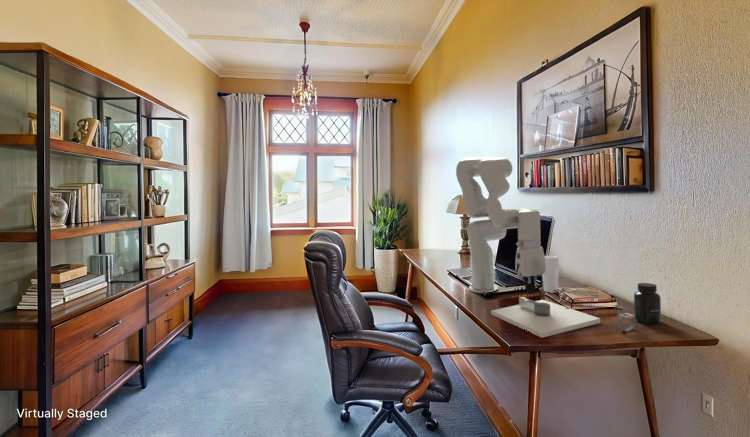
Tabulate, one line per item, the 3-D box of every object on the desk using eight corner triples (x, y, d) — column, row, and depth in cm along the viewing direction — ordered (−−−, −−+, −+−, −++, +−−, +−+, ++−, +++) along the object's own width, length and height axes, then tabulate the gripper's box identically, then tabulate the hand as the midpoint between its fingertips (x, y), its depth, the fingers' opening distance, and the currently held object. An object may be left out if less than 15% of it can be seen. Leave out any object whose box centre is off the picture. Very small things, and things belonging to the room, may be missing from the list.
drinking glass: (562, 293, 149) (561, 257, 148) (546, 294, 150) (545, 259, 149) (555, 289, 156) (553, 255, 155) (539, 290, 156) (537, 256, 155)
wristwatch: (630, 327, 111) (630, 311, 111) (639, 330, 108) (638, 314, 108) (614, 330, 110) (614, 314, 109) (623, 334, 107) (622, 317, 107)
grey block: (553, 314, 122) (553, 304, 122) (542, 316, 120) (541, 307, 120) (526, 304, 134) (526, 296, 134) (515, 306, 132) (515, 298, 132)
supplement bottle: (658, 326, 110) (657, 288, 109) (631, 322, 115) (630, 285, 114) (663, 320, 114) (662, 283, 114) (637, 316, 120) (636, 280, 119)
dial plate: (491, 314, 131) (491, 310, 131) (543, 303, 139) (542, 299, 139) (541, 337, 108) (541, 332, 108) (600, 322, 116) (600, 317, 116)
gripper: (519, 247, 125) (520, 298, 127) (553, 243, 129) (554, 292, 131) (505, 244, 132) (506, 293, 134) (538, 240, 136) (539, 287, 138)
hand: (530, 292), depth 133 cm, fingers closed
